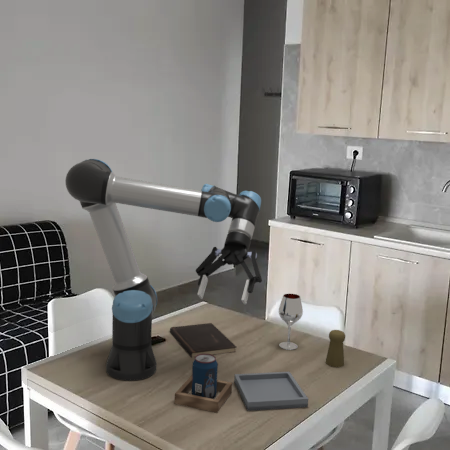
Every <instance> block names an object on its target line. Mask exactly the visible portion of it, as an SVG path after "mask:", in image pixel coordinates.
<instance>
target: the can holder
mask: <svg viewBox="0 0 450 450" xmlns="http://www.w3.org/2000/svg"><path fill="white" fill-rule="evenodd" d="M190 392H192V374H191V375H190V376H189V377H188V378H187V379H186V380H185V381H184V383H183V384H182V385H181V386H180V387H179V388H178V389H177V390H176V391H175V392H174V404H175V405H180V406H184V407H187V408H193V409H197V410H203V411H207V412H212V413H213V412H214V413H217V414H218V413H219V412H220V410H221V409H222V407H223V406H224V405H225V403H226V401H227V400H228V399H229V397H230V395H232V393H233V382H229V381H226V380H220V379H217V392H218V393H219V394H218V395H216V397H215V398H214V399H211V398H206V397H201V396H196V395H192V393H191V394H190Z"/></svg>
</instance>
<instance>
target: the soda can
mask: <svg viewBox="0 0 450 450" xmlns="http://www.w3.org/2000/svg"><path fill="white" fill-rule="evenodd" d="M218 365H219V363H218V361H217V357H216V356H215V354H212V355H211V354H198V355H196V356H195V357H194V360H193V361H192V372H191V375H192V389H191V395H196V396H201V397H206V398H211V399H216V398H217V380H218Z"/></svg>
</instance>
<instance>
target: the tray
mask: <svg viewBox="0 0 450 450" xmlns="http://www.w3.org/2000/svg"><path fill="white" fill-rule="evenodd" d="M233 377H234V378H233V382H234V385H235V387H236V389H237V391H238V394H239V395H240V397H241V399H242V402H243V404H244V406H245V408H246V410H247V412H250V411H252V412H253V411H267V410H268V411H269V410H284V409H297V408H298V409H299V408H308V406H309V397H308V396H307V395H306V393H305V392H304V390H303V388H301V386H300V385H299V383H298V382H297V380H296V379H295V377H294V376H293V374H292V373H291V372H290V371H278V372H277V371H274V372H273V371H272V372H271V371H270V372H257V373H256V372H255V373H254V372H253V373H252V372H251V373H234V376H233Z"/></svg>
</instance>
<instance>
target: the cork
mask: <svg viewBox="0 0 450 450" xmlns="http://www.w3.org/2000/svg"><path fill="white" fill-rule="evenodd" d="M328 338H329V339H328V340H329V345H328V348H327V354H326V358H325V362H324V363H325V365H327V366H329V367H333V368H342V367H344V366H345V353H344V351H345V349H344V341H346V334H345V332H344V331H342V330H340V329H332V330H331V331H329V334H328Z"/></svg>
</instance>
